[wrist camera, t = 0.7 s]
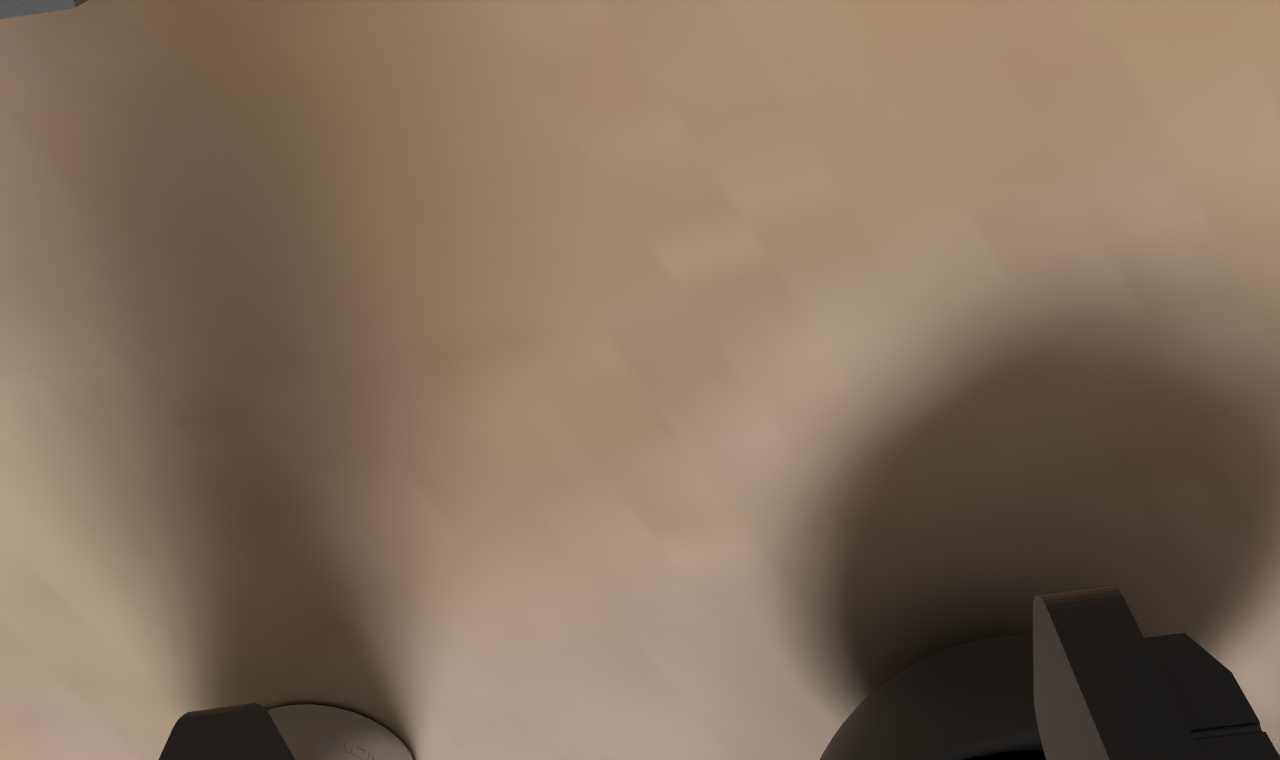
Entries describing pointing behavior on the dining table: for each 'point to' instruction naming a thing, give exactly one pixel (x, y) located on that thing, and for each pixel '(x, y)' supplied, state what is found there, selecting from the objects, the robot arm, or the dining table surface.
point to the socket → (34, 6)
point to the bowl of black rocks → (950, 708)
